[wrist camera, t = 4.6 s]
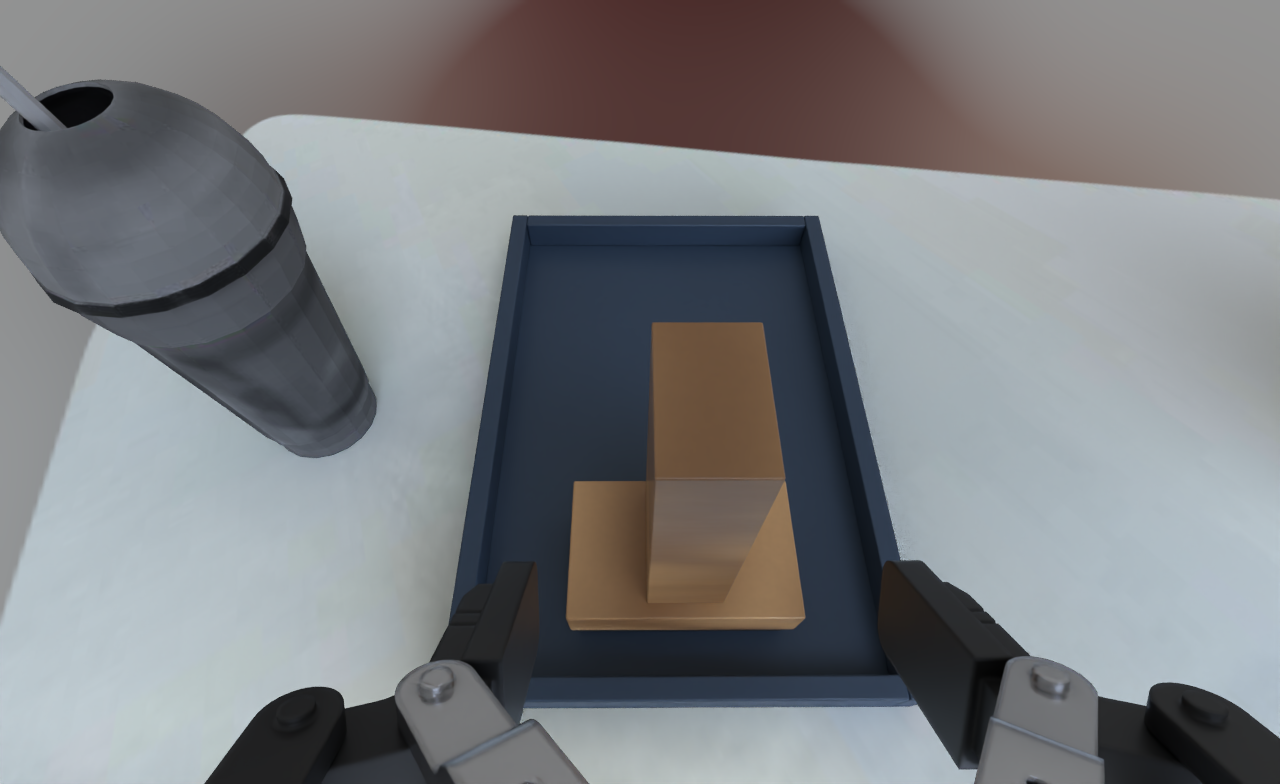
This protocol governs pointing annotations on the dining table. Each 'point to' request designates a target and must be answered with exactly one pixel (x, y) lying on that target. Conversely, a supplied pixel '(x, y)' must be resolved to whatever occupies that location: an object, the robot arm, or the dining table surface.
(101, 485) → the dining table surface
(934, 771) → the dining table surface
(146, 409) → the dining table surface
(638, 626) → the wooden post on base
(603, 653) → the tray
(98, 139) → the beverage cup
